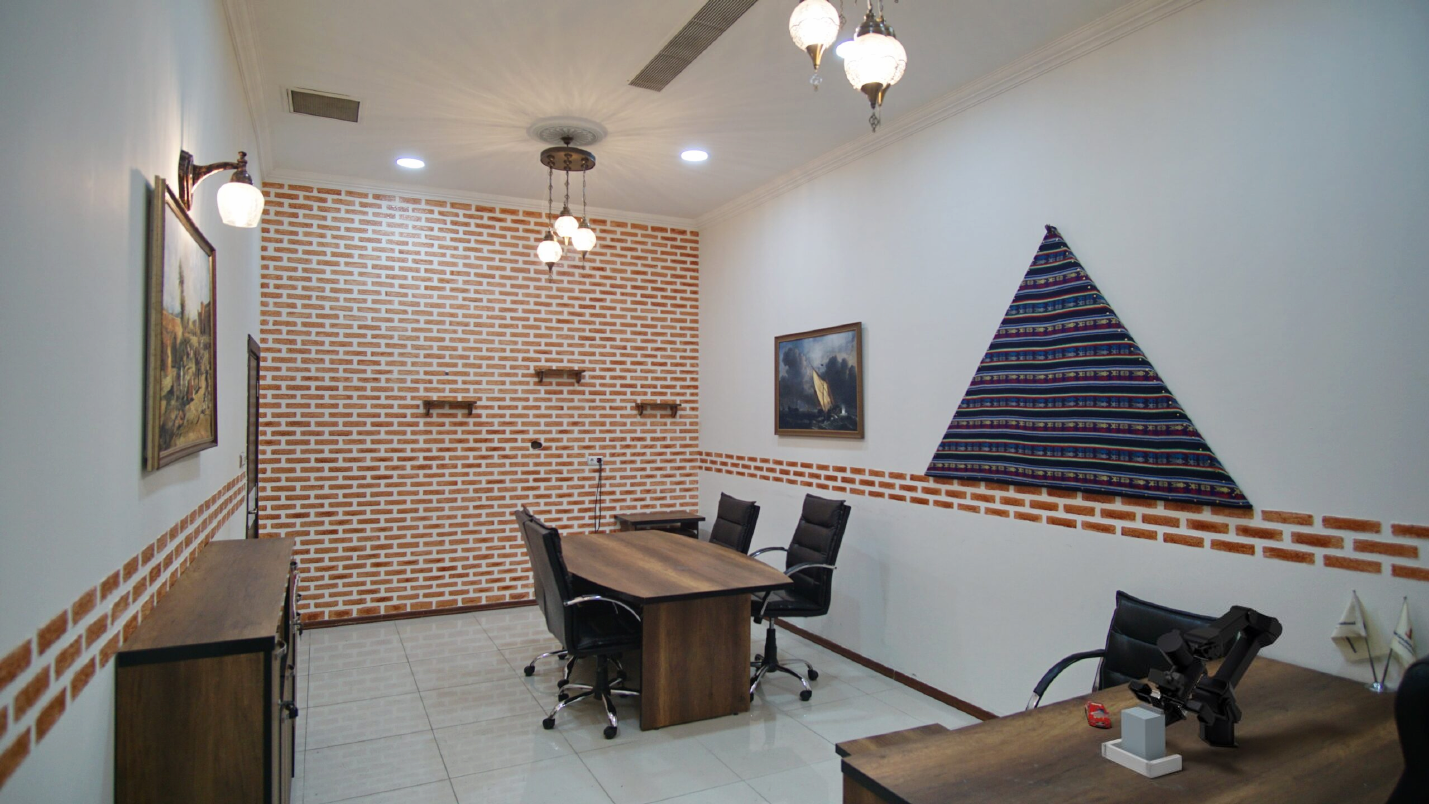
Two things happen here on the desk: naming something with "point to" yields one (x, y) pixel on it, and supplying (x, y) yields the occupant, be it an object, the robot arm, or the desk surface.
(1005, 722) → the desk surface
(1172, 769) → the bay
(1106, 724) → the race car
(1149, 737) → the pale grey upright block
